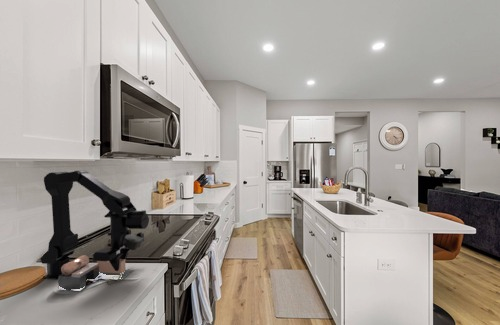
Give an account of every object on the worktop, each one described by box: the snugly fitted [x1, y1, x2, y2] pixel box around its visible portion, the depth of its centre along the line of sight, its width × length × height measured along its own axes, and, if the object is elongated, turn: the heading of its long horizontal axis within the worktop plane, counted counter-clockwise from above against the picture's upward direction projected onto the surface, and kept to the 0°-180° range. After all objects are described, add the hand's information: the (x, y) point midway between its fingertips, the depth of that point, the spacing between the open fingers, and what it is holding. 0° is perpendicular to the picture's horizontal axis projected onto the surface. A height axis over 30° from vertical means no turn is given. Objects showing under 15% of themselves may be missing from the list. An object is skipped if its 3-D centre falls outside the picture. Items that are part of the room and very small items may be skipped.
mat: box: [100, 269, 134, 282], centre depth 83 cm, size 13×7×1 cm, turn 84°
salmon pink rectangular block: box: [96, 259, 126, 273], centre depth 83 cm, size 10×2×4 cm, turn 84°
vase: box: [102, 238, 111, 249], centre depth 97 cm, size 7×7×9 cm
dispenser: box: [57, 254, 99, 290], centre depth 77 cm, size 8×8×9 cm
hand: (119, 268), depth 83 cm, fingers closed on salmon pink rectangular block, 2 cm apart
